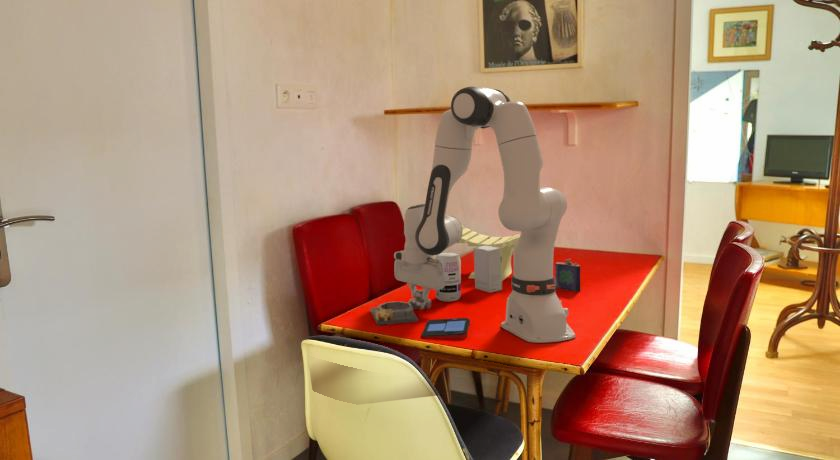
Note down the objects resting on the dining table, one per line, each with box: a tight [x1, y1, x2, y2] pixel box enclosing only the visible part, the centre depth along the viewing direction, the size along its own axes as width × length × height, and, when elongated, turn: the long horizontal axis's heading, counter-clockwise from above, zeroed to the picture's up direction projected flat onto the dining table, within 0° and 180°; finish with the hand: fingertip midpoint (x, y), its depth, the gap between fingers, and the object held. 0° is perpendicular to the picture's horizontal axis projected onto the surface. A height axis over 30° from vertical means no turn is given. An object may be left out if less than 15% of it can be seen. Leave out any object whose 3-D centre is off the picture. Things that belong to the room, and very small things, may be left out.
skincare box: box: [473, 245, 503, 293], centre depth 224 cm, size 8×6×15 cm
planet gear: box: [408, 289, 432, 310], centre depth 207 cm, size 7×7×5 cm
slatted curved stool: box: [456, 224, 521, 282], centre depth 245 cm, size 30×16×18 cm, turn 67°
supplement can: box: [434, 251, 462, 302], centre depth 214 cm, size 8×8×15 cm
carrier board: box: [369, 300, 419, 326], centre depth 197 cm, size 14×12×3 cm
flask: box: [554, 258, 581, 293], centre depth 222 cm, size 9×3×11 cm, turn 50°
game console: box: [420, 317, 471, 340], centre depth 183 cm, size 14×13×2 cm
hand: (419, 298), depth 207 cm, fingers closed on planet gear, 3 cm apart
